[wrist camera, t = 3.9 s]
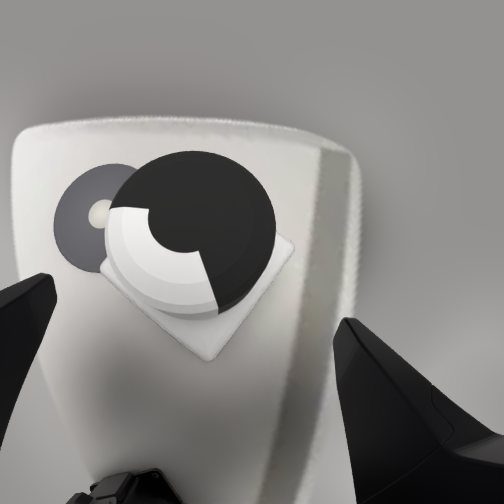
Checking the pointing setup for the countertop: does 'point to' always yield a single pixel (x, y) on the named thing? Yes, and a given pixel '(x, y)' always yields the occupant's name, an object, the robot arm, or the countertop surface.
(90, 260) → the pad
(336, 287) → the countertop surface
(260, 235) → the medicine bottle
